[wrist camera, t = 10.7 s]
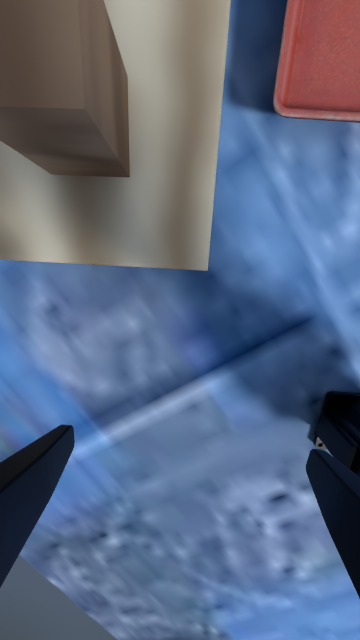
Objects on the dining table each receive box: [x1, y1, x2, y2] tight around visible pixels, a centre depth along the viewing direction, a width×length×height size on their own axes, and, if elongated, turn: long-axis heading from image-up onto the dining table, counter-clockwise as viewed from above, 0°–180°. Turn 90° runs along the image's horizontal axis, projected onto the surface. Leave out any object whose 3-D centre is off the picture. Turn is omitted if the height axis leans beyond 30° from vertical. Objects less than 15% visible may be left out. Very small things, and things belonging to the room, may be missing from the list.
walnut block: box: [0, 0, 130, 177], centre depth 10 cm, size 5×5×6 cm
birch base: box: [0, 0, 231, 271], centre depth 14 cm, size 16×16×3 cm
